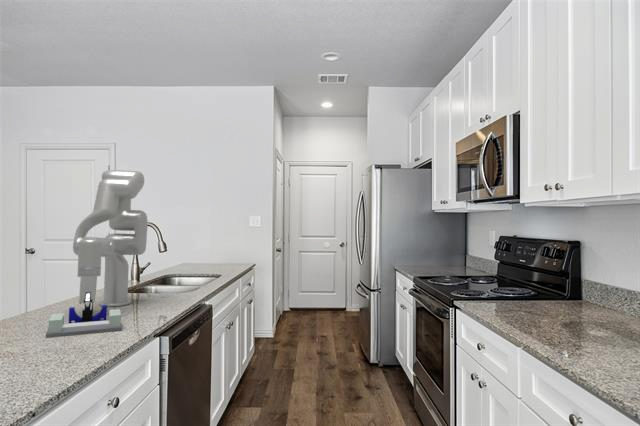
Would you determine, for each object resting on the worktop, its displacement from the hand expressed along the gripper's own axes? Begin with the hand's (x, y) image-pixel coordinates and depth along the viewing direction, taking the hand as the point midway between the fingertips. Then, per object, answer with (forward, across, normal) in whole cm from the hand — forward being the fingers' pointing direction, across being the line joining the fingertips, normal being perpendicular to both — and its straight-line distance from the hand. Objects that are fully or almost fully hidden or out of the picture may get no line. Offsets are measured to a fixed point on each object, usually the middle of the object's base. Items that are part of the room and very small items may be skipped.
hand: (87, 318), depth 150 cm
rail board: (+1, +12, 0) cm, 12 cm away
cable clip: (+2, +1, 0) cm, 2 cm away
